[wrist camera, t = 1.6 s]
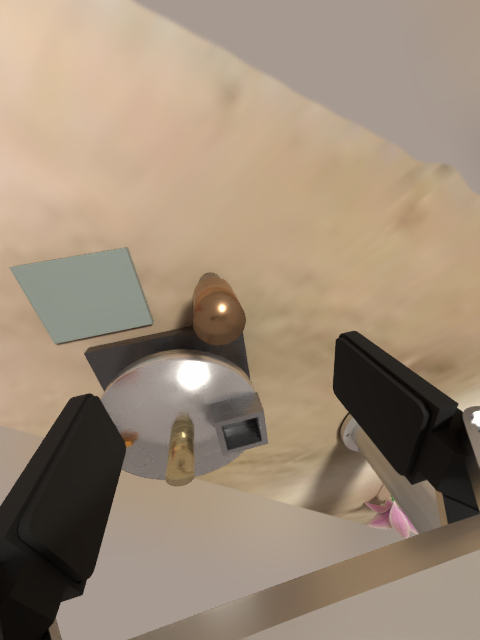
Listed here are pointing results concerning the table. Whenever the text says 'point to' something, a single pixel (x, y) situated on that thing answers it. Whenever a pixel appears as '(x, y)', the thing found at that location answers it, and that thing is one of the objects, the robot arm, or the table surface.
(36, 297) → the mat
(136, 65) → the table surface
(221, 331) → the copper bullet
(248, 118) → the table surface
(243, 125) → the table surface
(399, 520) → the lily
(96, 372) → the chuck stand
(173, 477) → the chuck disc
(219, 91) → the table surface
